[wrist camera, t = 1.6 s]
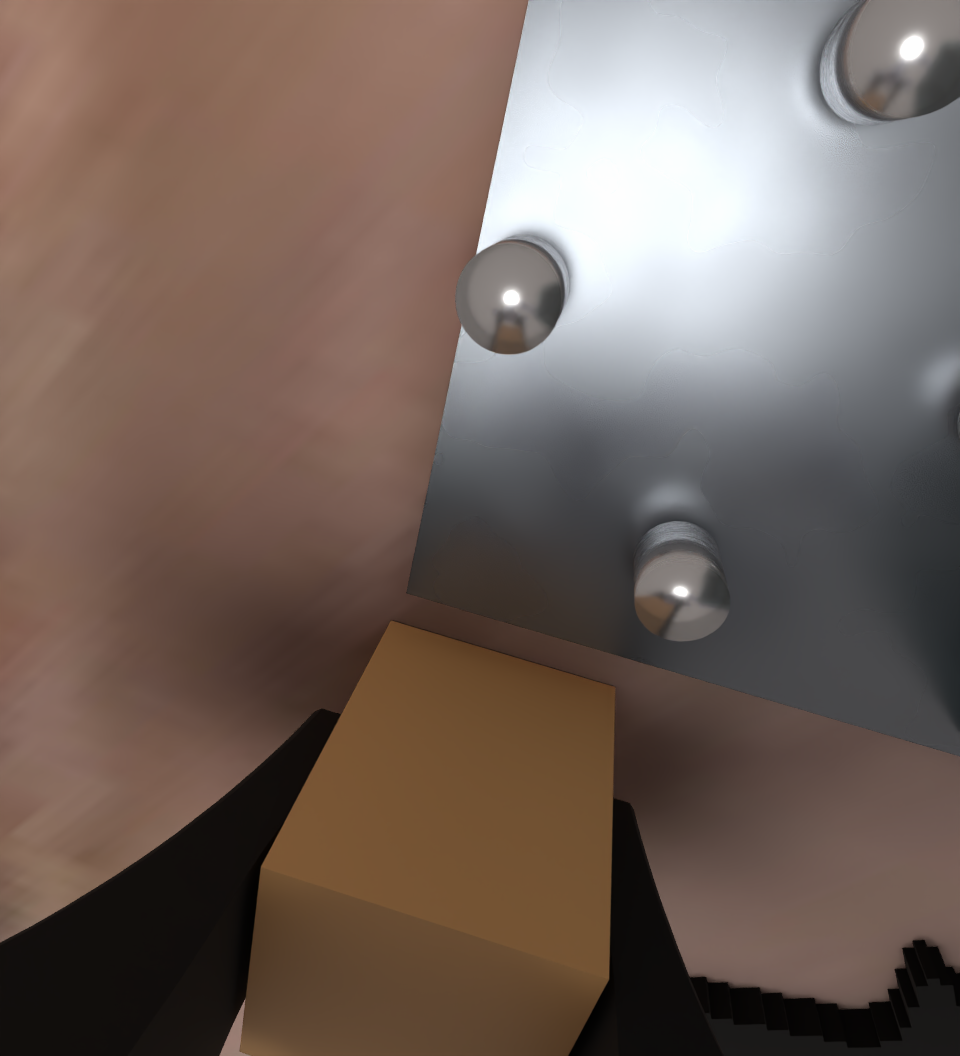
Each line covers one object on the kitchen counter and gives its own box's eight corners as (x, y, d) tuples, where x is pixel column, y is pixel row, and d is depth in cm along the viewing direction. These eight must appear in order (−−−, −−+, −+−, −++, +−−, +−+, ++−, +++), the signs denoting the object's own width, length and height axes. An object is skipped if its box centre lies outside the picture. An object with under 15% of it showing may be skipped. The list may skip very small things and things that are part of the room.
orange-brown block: (614, 687, 12) (609, 979, 8) (552, 841, 14) (519, 1146, 10) (390, 620, 12) (261, 866, 8) (359, 780, 14) (239, 1051, 10)
